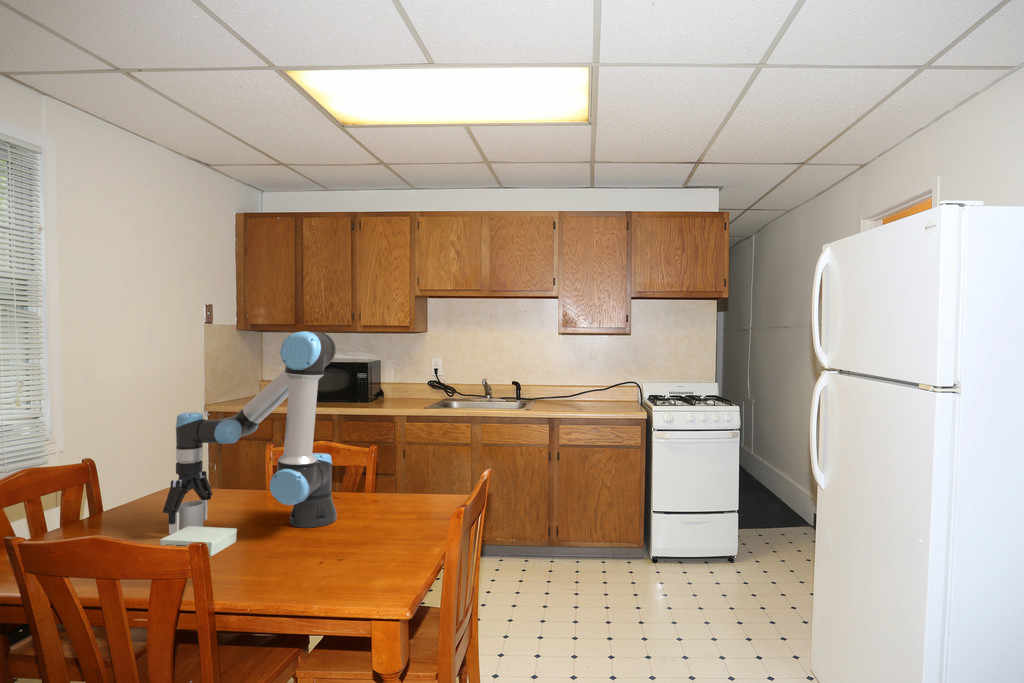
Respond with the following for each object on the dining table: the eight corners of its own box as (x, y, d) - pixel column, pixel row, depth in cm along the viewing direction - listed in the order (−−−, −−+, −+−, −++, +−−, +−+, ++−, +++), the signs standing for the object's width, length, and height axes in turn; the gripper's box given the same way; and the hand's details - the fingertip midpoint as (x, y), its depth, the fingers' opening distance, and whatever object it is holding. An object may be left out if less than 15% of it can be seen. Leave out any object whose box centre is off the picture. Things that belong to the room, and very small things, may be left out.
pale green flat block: (236, 541, 174) (236, 528, 174) (211, 556, 162) (211, 542, 162) (188, 538, 176) (188, 526, 176) (160, 553, 164) (160, 539, 164)
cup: (181, 537, 177) (182, 508, 177) (171, 529, 184) (171, 502, 184) (206, 531, 183) (206, 503, 183) (195, 524, 189) (195, 497, 189)
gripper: (203, 452, 196) (203, 513, 196) (149, 469, 171) (149, 539, 171) (224, 453, 195) (223, 514, 195) (172, 470, 170) (172, 540, 171)
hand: (188, 526), depth 183 cm, fingers open, 13 cm apart
